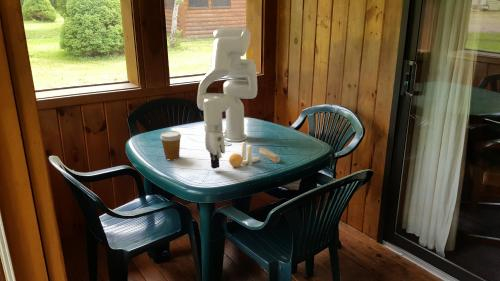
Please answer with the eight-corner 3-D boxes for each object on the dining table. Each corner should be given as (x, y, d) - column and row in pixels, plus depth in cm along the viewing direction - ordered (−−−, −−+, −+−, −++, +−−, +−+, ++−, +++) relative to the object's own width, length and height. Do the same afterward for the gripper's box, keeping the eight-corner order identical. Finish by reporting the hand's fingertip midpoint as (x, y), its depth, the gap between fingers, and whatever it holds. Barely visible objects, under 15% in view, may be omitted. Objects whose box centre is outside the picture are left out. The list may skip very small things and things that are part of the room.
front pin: (243, 161, 181) (259, 156, 186) (241, 160, 182) (257, 155, 187) (244, 165, 181) (260, 160, 186) (241, 164, 183) (257, 160, 188)
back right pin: (246, 165, 182) (246, 146, 179) (249, 163, 183) (248, 144, 180) (250, 165, 181) (250, 146, 178) (252, 164, 182) (252, 145, 179)
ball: (244, 159, 183) (236, 170, 182) (233, 151, 183) (225, 162, 182) (246, 157, 177) (237, 168, 176) (235, 149, 177) (227, 160, 176)
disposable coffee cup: (163, 154, 195) (161, 131, 191) (183, 153, 196) (181, 130, 192) (160, 162, 186) (158, 137, 183) (181, 161, 187) (180, 136, 183)
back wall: (275, 162, 184) (275, 156, 183) (259, 153, 195) (259, 147, 194) (279, 162, 185) (279, 155, 184) (262, 152, 196) (262, 147, 195)
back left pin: (241, 161, 186) (240, 143, 183) (243, 160, 187) (243, 141, 184) (245, 162, 185) (244, 143, 182) (247, 160, 186) (246, 142, 184)
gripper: (229, 130, 166) (231, 171, 172) (213, 121, 178) (215, 160, 184) (213, 133, 162) (215, 175, 168) (197, 124, 174) (200, 163, 180)
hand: (215, 167), depth 176 cm, fingers closed
